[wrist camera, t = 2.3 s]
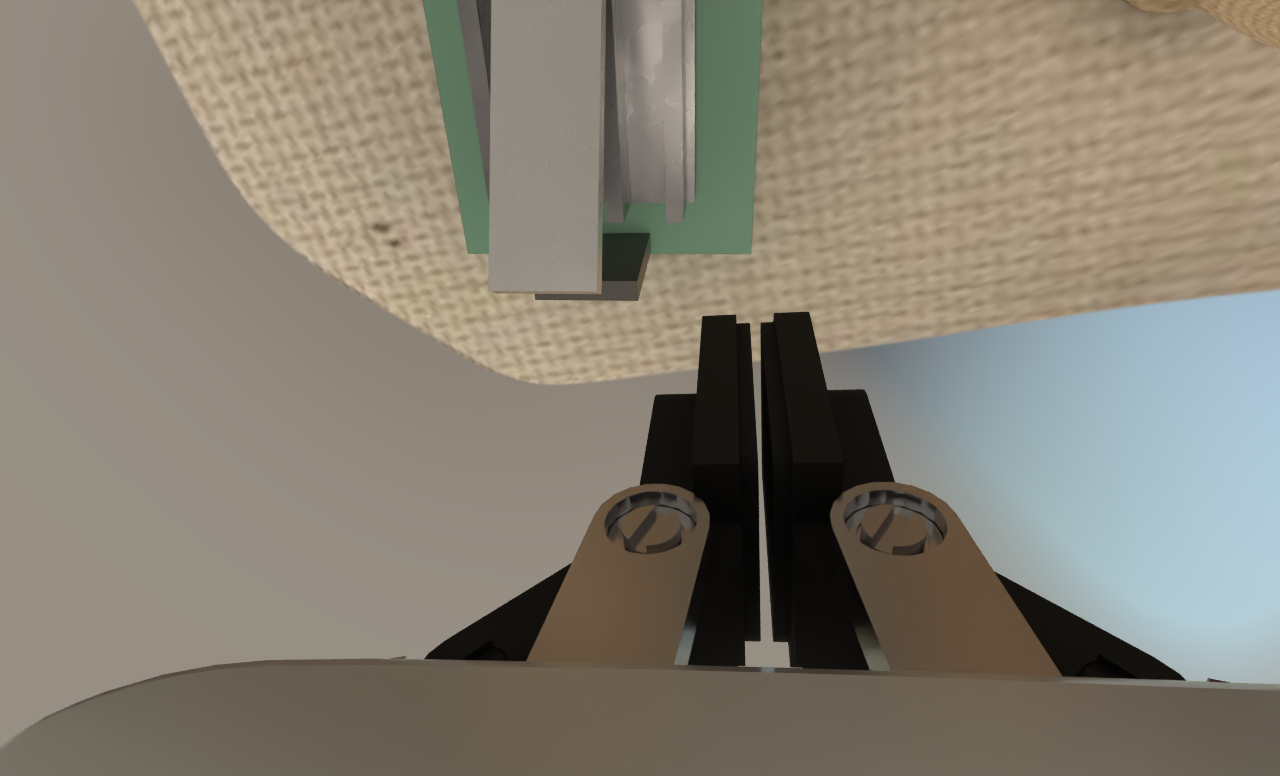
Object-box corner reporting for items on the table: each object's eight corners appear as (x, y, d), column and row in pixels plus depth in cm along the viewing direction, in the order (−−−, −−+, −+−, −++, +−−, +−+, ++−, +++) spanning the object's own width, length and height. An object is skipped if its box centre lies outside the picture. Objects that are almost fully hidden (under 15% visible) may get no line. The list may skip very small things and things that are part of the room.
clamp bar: (498, -135, 26) (485, -163, 25) (614, -142, 26) (608, -171, 24) (493, 293, 27) (481, 290, 26) (607, 294, 26) (601, 291, 25)
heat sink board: (401, -191, 31) (310, -228, 24) (770, -218, 29) (783, -265, 23) (475, 244, 42) (427, 302, 35) (750, 244, 40) (754, 305, 33)
